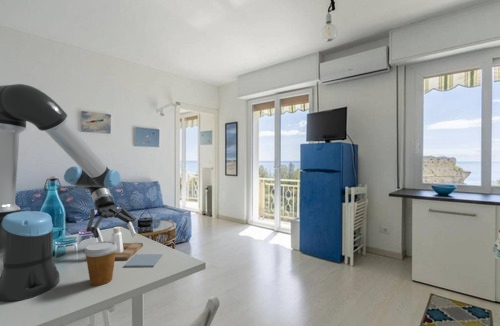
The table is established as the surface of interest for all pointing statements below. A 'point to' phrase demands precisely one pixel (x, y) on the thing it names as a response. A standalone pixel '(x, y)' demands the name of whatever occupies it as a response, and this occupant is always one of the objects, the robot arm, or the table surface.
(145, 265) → the grey mat
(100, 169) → the robot arm
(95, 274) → the disposable coffee cup
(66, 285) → the table surface
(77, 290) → the table surface
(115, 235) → the pepper shaker
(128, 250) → the walnut frame
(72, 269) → the table surface
